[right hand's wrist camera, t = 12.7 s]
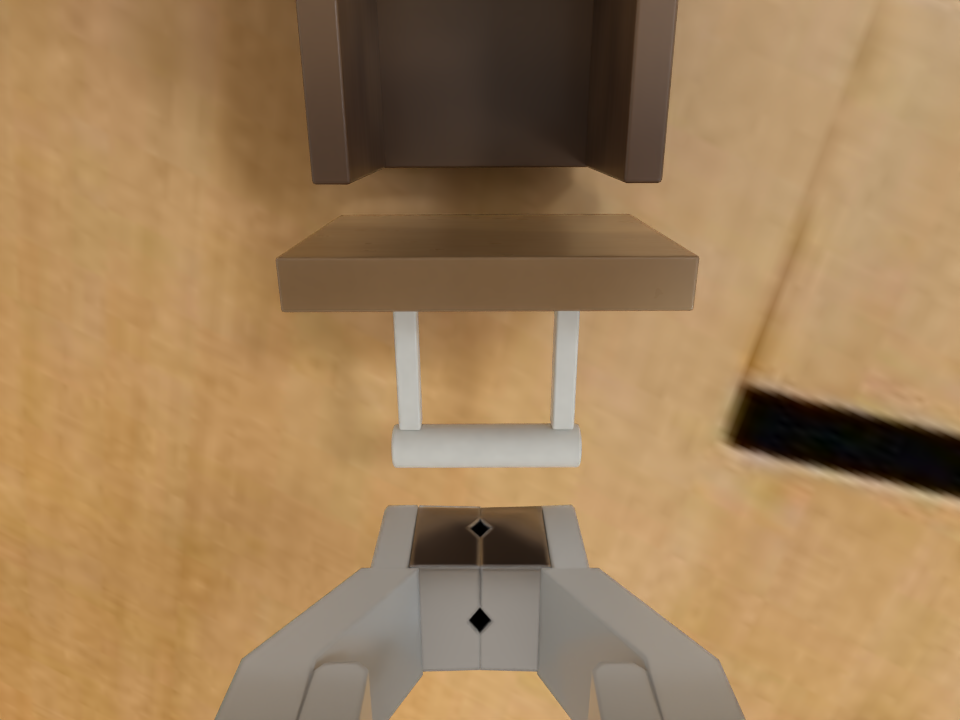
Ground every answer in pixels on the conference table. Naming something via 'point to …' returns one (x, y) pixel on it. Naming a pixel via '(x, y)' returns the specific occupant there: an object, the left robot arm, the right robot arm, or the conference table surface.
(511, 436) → the drawer
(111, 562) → the conference table surface
